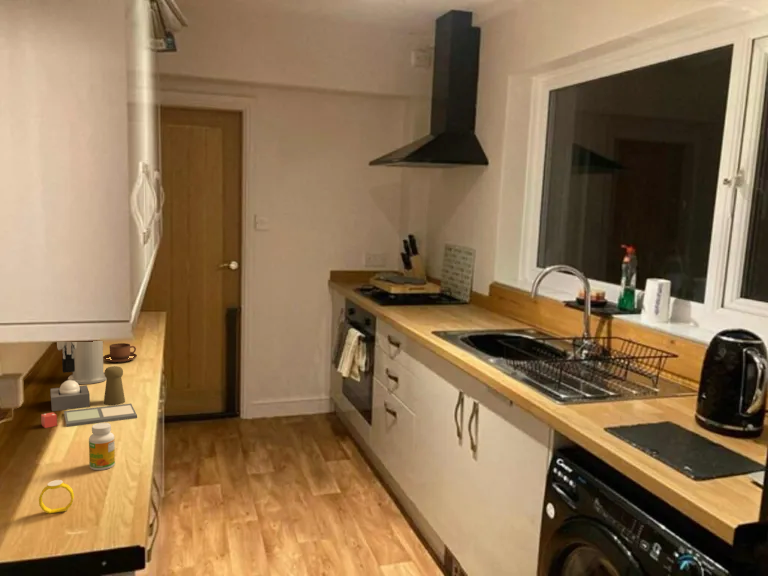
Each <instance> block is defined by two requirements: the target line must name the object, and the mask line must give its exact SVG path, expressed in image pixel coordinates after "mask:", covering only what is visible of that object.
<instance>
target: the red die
mask: <svg viewBox="0 0 768 576" xmlns="http://www.w3.org/2000/svg"><path fill="white" fill-rule="evenodd" d="M40 418H41V426H42V427H43V428H45V429H47V428H53V427H57V426H58V415H57V414H56V413H55V412H54V411H52V412H47V413H41V415H40Z"/></svg>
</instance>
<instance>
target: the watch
mask: <svg viewBox="0 0 768 576" xmlns="http://www.w3.org/2000/svg"><path fill="white" fill-rule="evenodd" d="M59 488H62V489H65V490H66V491H67V492H68V494H69V495H70V501H69V503H68V504H67V505H66V506H63V507H58V508H57V507H56V508H53V509H52V508H50V507H47V506H46V505H45V503H44V502H43V495H44V493H46V492H47V491H48V490H56V489H59ZM74 498H75V494H74V490H73V488H72V487H71V486H70V485H69V484H67V483H64V481H63V480H61V479H55V480H52V481H49V482H48V483H47V485H46V486H45V487H44V488H42V491H41V493H40V494H39V496H38V506H39V507H40V509H41V510H42V511H43V512H44V513H46V514H49V515H50V514H51V515H52V514H56V513H61V512H67V511H68V509H70V508H71V507H72V504H73V501H74Z"/></svg>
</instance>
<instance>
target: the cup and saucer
mask: <svg viewBox="0 0 768 576" xmlns="http://www.w3.org/2000/svg"><path fill="white" fill-rule="evenodd" d="M131 348H133V351H131ZM136 351H137V347H136V346H134V345H131V344H130V343H123V342H121V343H120V342H119V343H113V344H109V353H108V354H105V355H103V361H104V360H105V361H106V362H108V363H116V362H118V363H126V361H127V362H130V360H131V361H134V360H135V359H136V358H137V355H138V354H136ZM129 356H134V357H133V358H129ZM109 357H111V359H112V360H110V359H106V358H109ZM128 358H129V359H128Z"/></svg>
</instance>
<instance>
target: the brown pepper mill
mask: <svg viewBox="0 0 768 576" xmlns="http://www.w3.org/2000/svg"><path fill="white" fill-rule="evenodd" d="M103 372H104V374H105V377H106V378H107V379H106V380H105V381H106V383H105V390H104V396H103V397H104V398H103V404H104V405H105V406H114V405H122V404H125V403H126V398H125V393H124V387H123V386H124V385H123V381H122V377H123V374H124V371H123V368H122V367H121V366H118V365H117V366H115V365H113V366H108V367H106V368H105V370H104V371H103Z"/></svg>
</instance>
